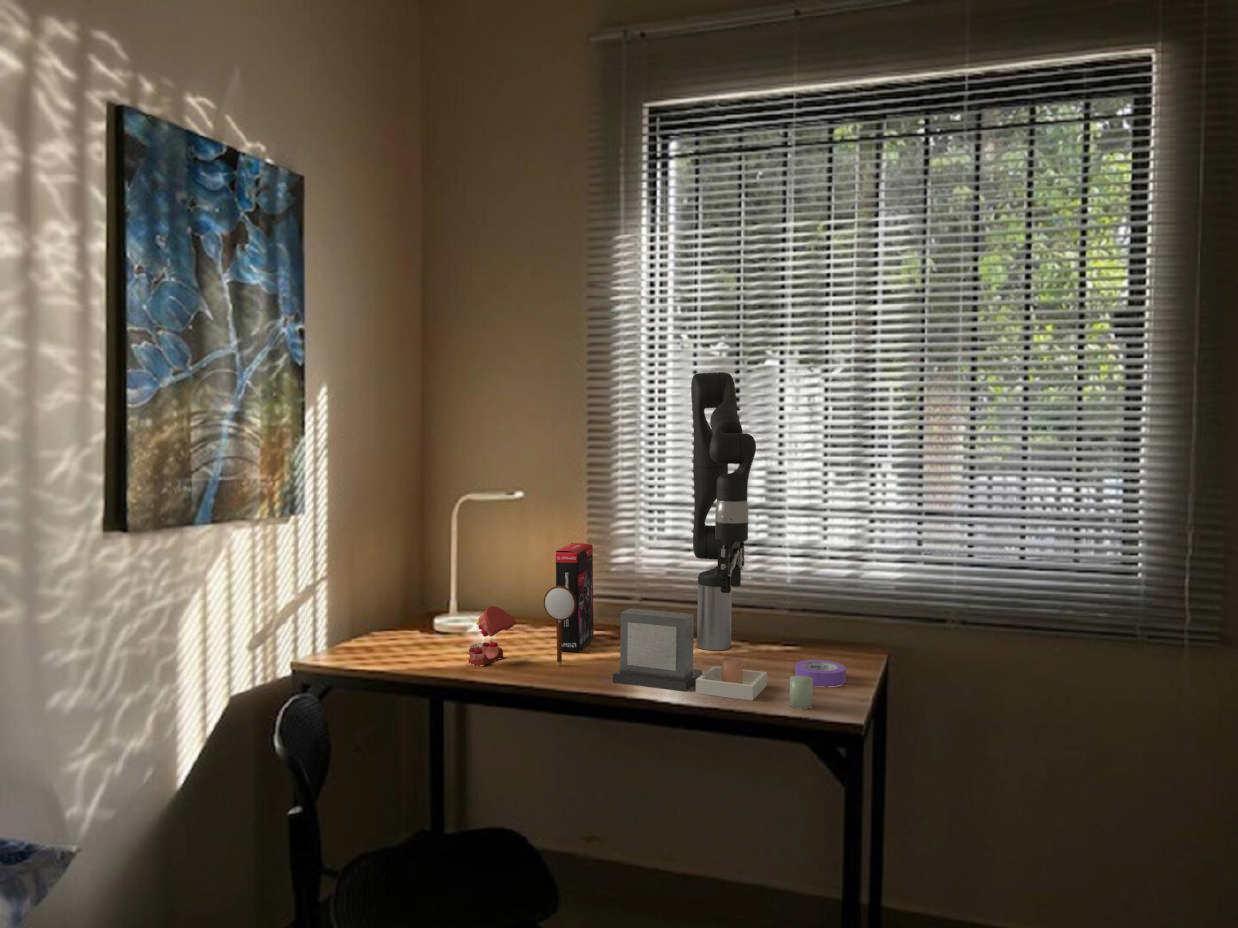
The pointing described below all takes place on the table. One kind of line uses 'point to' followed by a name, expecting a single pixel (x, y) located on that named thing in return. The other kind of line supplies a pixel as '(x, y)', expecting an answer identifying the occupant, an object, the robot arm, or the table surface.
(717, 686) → the tray
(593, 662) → the table surface
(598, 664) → the table surface
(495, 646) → the anatomical model
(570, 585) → the graphics card box
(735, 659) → the cylinder
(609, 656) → the table surface
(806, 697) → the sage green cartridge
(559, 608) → the magnifying glass
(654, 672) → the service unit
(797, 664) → the masking tape
